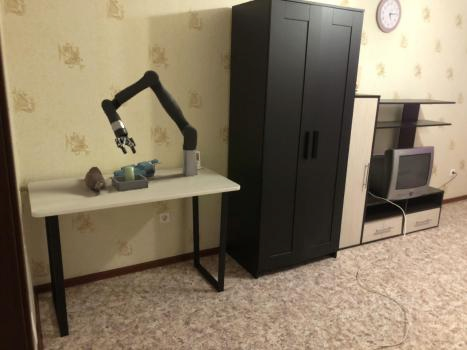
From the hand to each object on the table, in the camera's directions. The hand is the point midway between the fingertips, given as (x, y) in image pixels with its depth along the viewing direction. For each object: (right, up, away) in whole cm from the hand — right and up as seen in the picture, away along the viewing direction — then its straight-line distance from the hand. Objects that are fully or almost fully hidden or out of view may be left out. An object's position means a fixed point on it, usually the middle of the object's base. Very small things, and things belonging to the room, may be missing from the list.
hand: (130, 153), depth 225 cm
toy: (-1, -14, +22) cm, 26 cm away
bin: (0, -20, -2) cm, 20 cm away
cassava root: (-21, -20, -4) cm, 29 cm away
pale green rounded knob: (0, -19, -2) cm, 19 cm away
